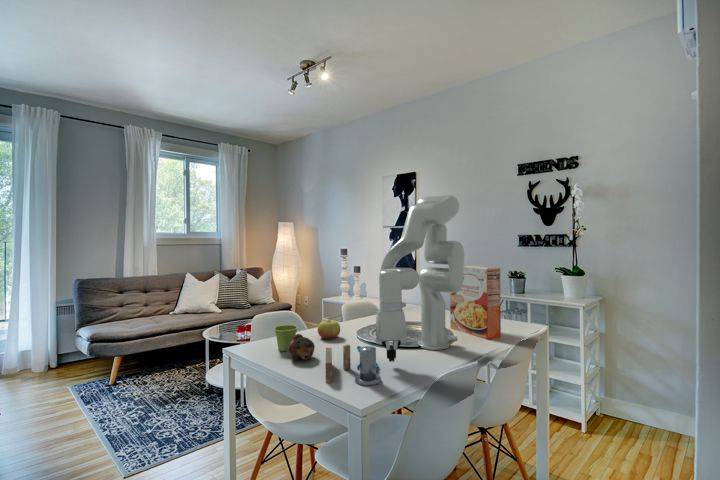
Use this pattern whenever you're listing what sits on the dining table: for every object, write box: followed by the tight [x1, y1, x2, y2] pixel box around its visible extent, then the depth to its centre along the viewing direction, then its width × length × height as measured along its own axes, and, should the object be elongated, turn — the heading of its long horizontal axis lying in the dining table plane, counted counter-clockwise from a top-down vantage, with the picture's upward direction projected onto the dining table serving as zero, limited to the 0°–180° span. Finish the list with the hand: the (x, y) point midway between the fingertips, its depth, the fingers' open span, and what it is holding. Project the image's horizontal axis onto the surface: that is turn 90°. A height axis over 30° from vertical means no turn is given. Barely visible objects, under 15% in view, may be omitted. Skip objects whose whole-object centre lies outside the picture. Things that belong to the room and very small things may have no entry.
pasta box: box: [449, 264, 502, 341], centre depth 174 cm, size 23×8×30 cm, turn 28°
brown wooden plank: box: [325, 347, 333, 384], centre depth 125 cm, size 2×16×6 cm, turn 5°
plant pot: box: [273, 324, 299, 352], centre depth 151 cm, size 9×9×9 cm
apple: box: [317, 319, 341, 340], centre depth 167 cm, size 10×10×8 cm
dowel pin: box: [342, 343, 352, 371], centre depth 128 cm, size 2×2×8 cm
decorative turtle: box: [288, 333, 316, 362], centre depth 140 cm, size 10×15×8 cm, turn 27°
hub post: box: [354, 345, 382, 387], centre depth 118 cm, size 8×8×10 cm
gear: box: [356, 345, 380, 371], centre depth 129 cm, size 11×6×10 cm
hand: (391, 360), depth 129 cm, fingers closed
